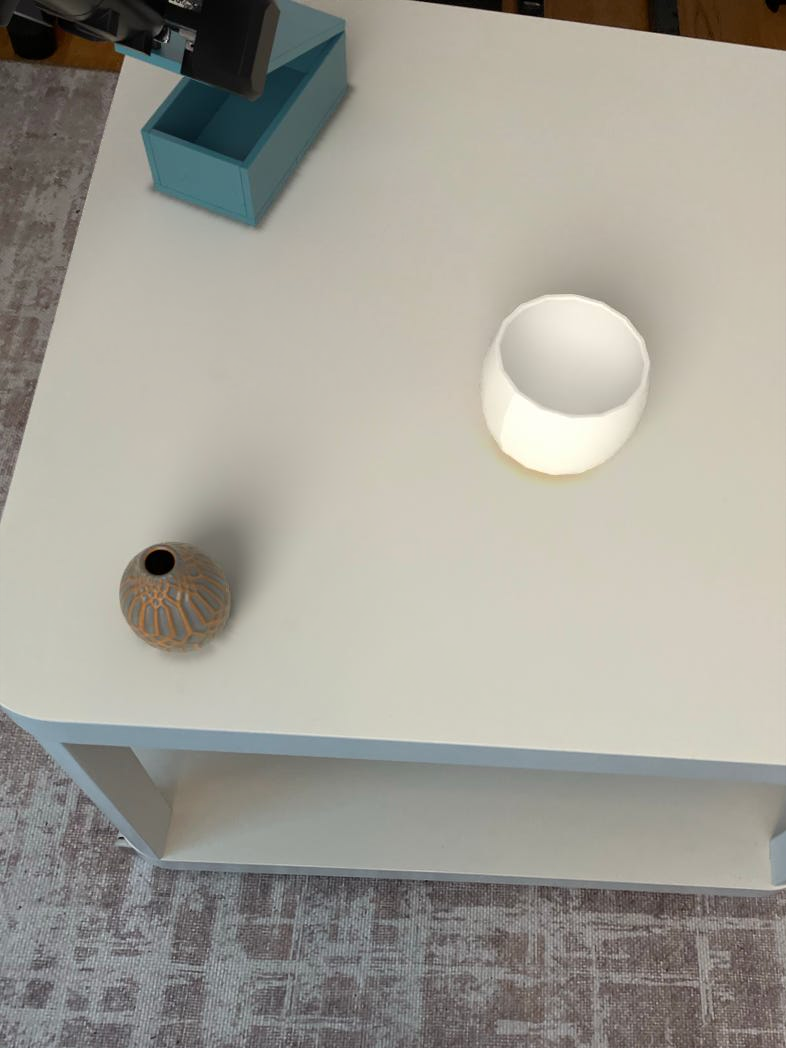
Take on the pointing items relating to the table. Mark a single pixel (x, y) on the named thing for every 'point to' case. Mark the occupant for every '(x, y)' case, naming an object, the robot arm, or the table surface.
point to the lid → (292, 39)
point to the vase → (175, 597)
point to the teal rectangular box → (244, 133)
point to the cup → (564, 383)
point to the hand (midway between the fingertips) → (193, 39)
